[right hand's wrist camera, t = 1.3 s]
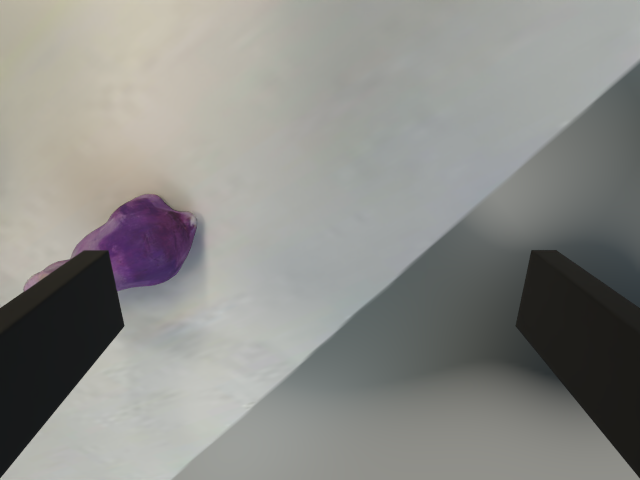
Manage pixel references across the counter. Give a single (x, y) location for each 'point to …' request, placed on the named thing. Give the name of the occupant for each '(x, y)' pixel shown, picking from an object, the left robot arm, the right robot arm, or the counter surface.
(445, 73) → the counter surface
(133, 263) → the figurine
